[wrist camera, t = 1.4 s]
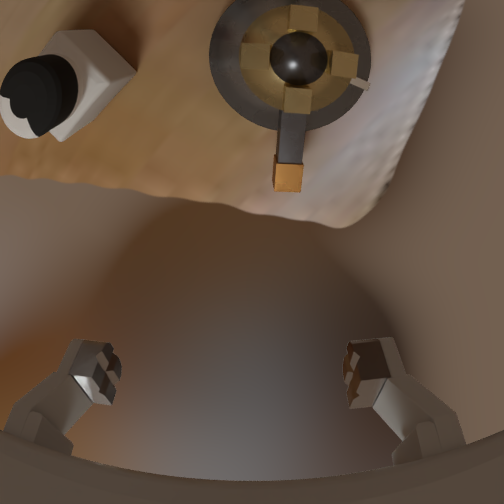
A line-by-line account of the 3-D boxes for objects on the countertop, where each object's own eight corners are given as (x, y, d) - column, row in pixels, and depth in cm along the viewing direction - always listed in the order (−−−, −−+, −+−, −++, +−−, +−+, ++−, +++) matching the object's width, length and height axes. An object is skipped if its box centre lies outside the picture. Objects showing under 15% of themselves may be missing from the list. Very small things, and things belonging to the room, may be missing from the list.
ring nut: (240, 5, 20) (240, -1, 17) (349, 16, 20) (364, 13, 17) (236, 178, 30) (235, 196, 27) (330, 181, 30) (339, 199, 27)
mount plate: (213, -15, 20) (210, -21, 18) (367, 0, 21) (378, -3, 19) (211, 123, 29) (208, 130, 27) (353, 131, 30) (362, 139, 27)
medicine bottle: (93, 28, 22) (21, 32, 12) (138, 72, 25) (82, 94, 16) (51, 80, 24) (-24, 111, 15) (92, 121, 28) (30, 168, 18)
